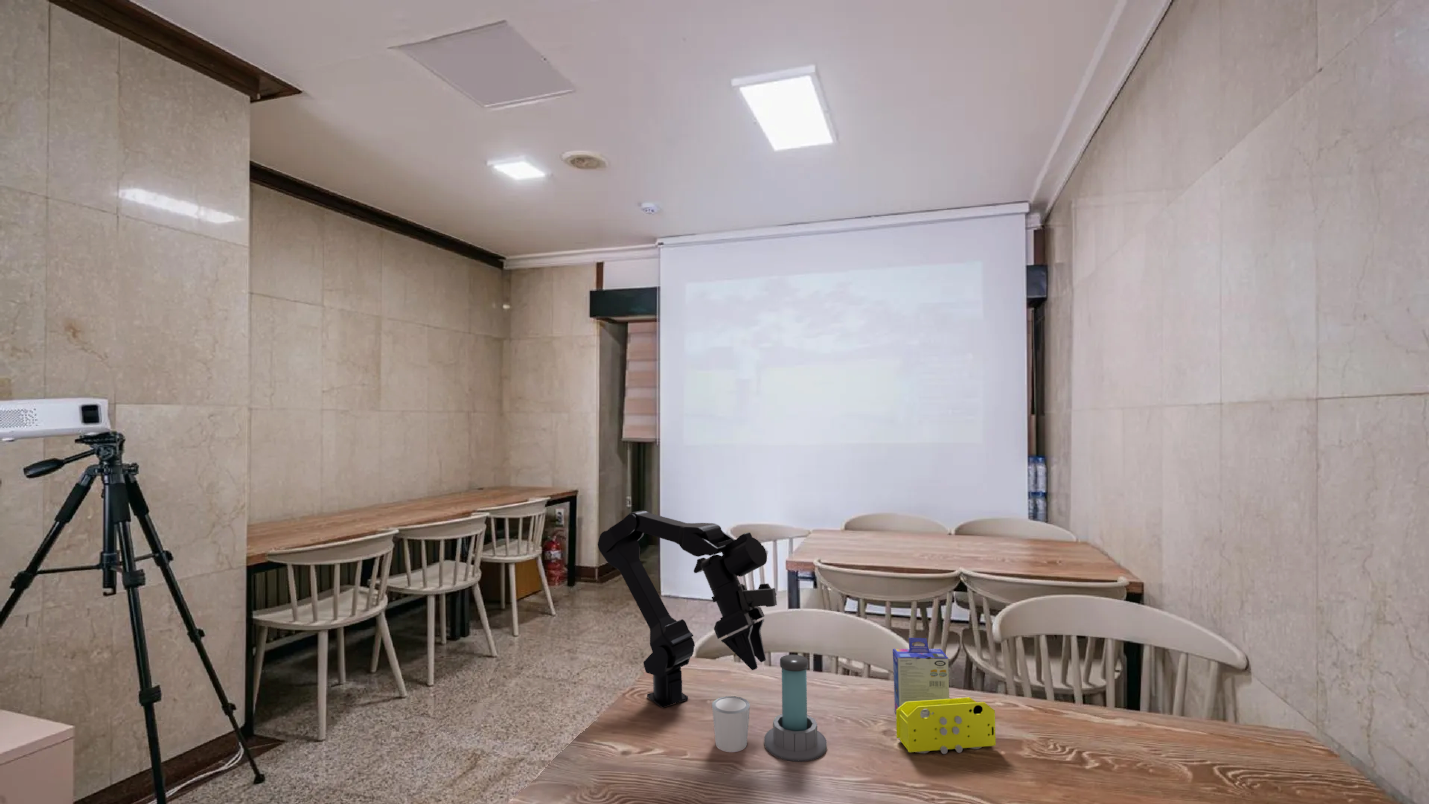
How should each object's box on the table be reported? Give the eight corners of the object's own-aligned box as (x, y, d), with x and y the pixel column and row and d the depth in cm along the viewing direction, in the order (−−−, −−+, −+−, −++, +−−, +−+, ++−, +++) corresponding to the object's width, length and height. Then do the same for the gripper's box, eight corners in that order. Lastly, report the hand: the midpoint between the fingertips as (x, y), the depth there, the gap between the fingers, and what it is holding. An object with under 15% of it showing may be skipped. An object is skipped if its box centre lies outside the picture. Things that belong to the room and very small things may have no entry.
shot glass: (747, 755, 104) (747, 714, 104) (708, 752, 105) (708, 711, 105) (752, 735, 111) (752, 696, 111) (716, 732, 112) (715, 694, 112)
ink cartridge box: (943, 710, 120) (941, 636, 120) (952, 723, 114) (950, 646, 115) (892, 708, 121) (891, 635, 121) (899, 722, 115) (897, 645, 116)
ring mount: (751, 741, 109) (751, 719, 109) (796, 722, 115) (796, 702, 115) (794, 769, 100) (793, 745, 100) (839, 747, 106) (839, 725, 106)
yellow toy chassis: (910, 758, 103) (909, 709, 103) (895, 741, 108) (895, 694, 109) (997, 751, 105) (996, 703, 105) (979, 735, 110) (978, 688, 111)
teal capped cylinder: (775, 735, 109) (775, 657, 109) (800, 730, 111) (799, 653, 111) (789, 749, 104) (788, 667, 105) (814, 743, 106) (813, 663, 107)
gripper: (753, 568, 108) (792, 654, 103) (769, 567, 126) (803, 641, 120) (698, 594, 109) (734, 681, 104) (722, 590, 127) (753, 664, 122)
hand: (759, 665), depth 112 cm, fingers open, 9 cm apart
